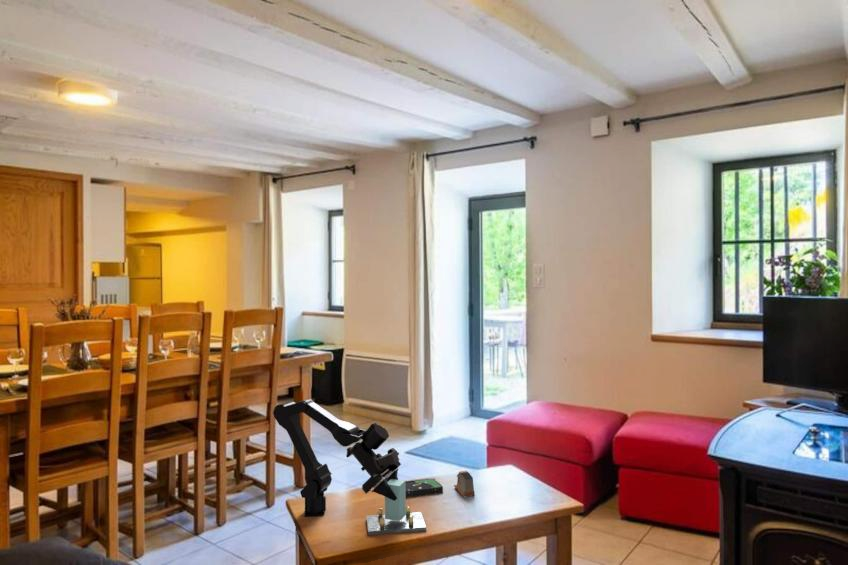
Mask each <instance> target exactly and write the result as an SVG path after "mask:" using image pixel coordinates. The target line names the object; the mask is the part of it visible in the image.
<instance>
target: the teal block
mask: <svg viewBox="0 0 848 565" xmlns="http://www.w3.org/2000/svg"><path fill="white" fill-rule="evenodd" d="M387 483H388V485H389V487H390V488H391V490H392V491H393V493H394V494H395V496H396V497H397V499H396V500H395V501H394V500H392V499H389V498H387V497H385V496H384V514H385V519H389V520H396V521H400V520H401V519H402V518H403V517H404V516H405V515H406V506H407V505H406V504H407V500H406V499H407V497H406V480H402V479H398V480H395V479H391V480H389V481H388V482H387Z"/></svg>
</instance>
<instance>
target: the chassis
mask: <svg viewBox="0 0 848 565" xmlns="http://www.w3.org/2000/svg"><path fill="white" fill-rule="evenodd" d="M377 510H378V513H377V514H372V515H370V514H369V515H366V517H365V518H366V527H367V535H368V536H378V535H390V534H391V535H393V534H394V535H395V534H405V533H408V534H409V533H421V532H427V526H426V523H425V520H424V517H423V513H422V512H421V511H417V512H416V511H415V512H411V506H410V505H406V515H405V516H404V517H403V518H402V519H401V520H400V521H396V520H389V519H385V513H383V512H384V509H383V507H378V509H377Z"/></svg>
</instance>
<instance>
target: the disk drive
mask: <svg viewBox="0 0 848 565" xmlns="http://www.w3.org/2000/svg"><path fill="white" fill-rule="evenodd" d="M405 481H406V480H405ZM434 493H437V494H443V493H444V487H443V485H442V484H441V483H440V482H438V480H436V478H425V479H416V480H407V481H406V498H412V497H419V495H421V496H425V495H426V494H428V495H435V494H434ZM426 496H427V495H426Z"/></svg>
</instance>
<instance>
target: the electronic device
mask: <svg viewBox="0 0 848 565" xmlns="http://www.w3.org/2000/svg"><path fill="white" fill-rule="evenodd" d="M456 478H457V481H456V484H454V485H453V487H454V488H455V490H457V491H458V493H459V494H460V495H461V496H463V498H466V497H471V496H472V497H473V496H475V495H476V494H475V488H474V487H475V486H474V478H473V476H472V474H470V473H469V472H468V470H462V471H459V472H458V474H457V475H456Z"/></svg>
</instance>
